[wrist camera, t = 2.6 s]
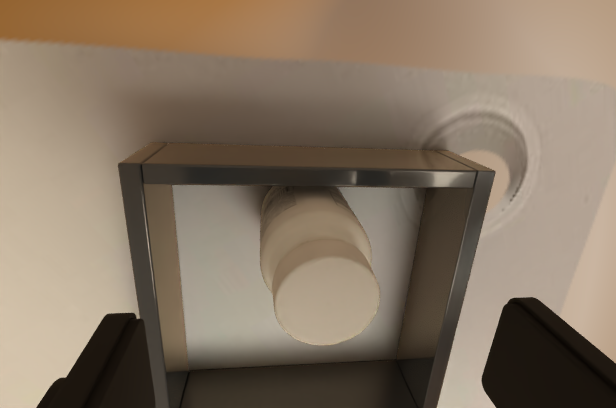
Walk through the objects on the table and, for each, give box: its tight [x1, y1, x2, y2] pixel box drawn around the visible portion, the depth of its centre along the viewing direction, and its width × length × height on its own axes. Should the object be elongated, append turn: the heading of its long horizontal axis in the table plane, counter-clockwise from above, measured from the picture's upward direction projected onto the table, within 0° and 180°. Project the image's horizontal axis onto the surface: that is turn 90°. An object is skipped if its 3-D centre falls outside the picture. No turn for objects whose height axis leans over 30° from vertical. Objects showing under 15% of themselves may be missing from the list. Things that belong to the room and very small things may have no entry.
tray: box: [118, 142, 495, 408], centre depth 18 cm, size 15×15×4 cm
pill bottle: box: [260, 186, 380, 345], centre depth 15 cm, size 4×4×8 cm
